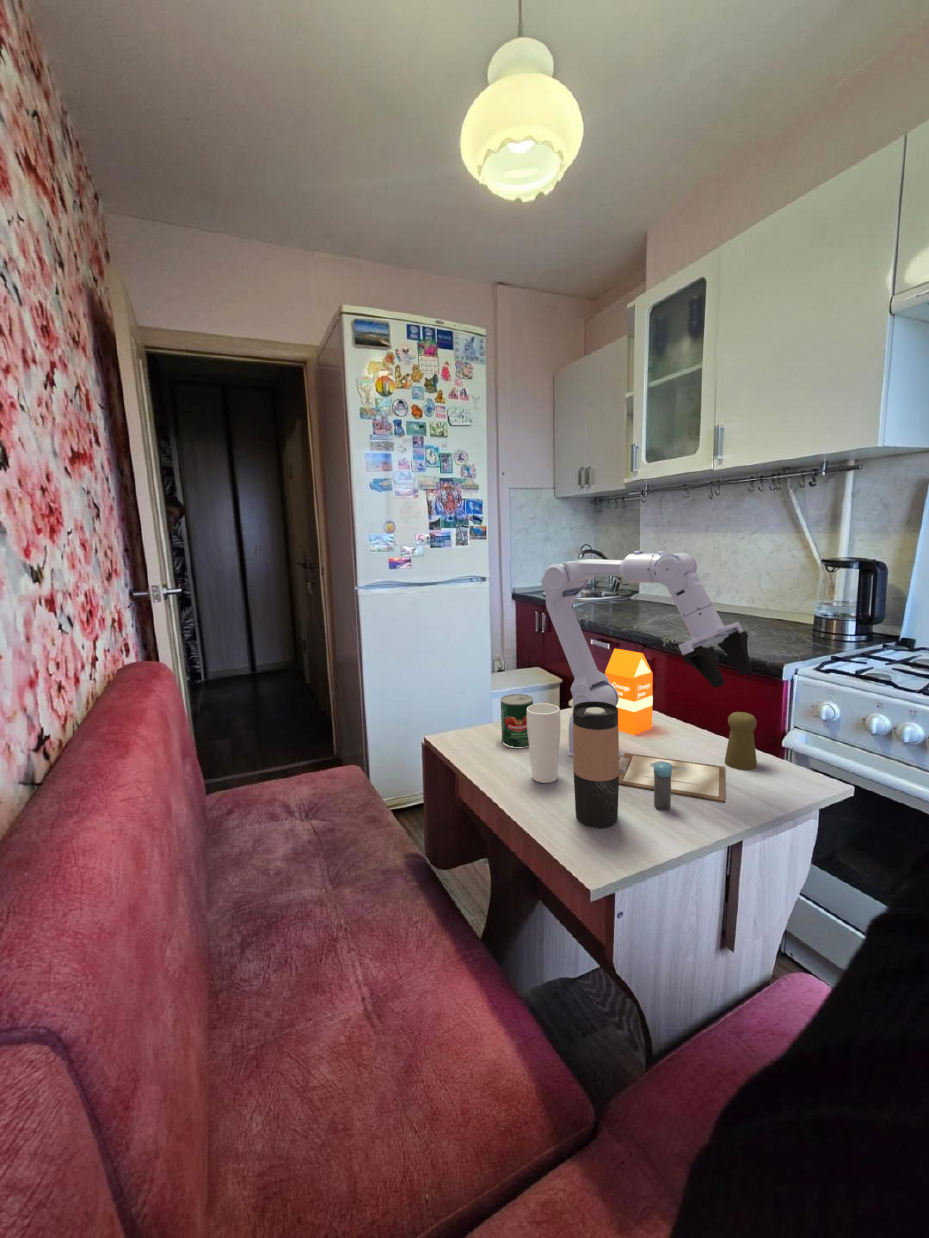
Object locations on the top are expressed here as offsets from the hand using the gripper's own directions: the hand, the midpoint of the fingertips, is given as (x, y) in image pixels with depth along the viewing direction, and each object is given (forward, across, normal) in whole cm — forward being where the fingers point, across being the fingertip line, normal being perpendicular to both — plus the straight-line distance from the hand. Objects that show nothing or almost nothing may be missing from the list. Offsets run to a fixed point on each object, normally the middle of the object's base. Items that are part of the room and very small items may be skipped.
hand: (733, 679), depth 91 cm
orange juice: (+4, +7, +42) cm, 43 cm away
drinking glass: (+5, -27, +30) cm, 41 cm away
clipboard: (+14, -6, +20) cm, 25 cm away
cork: (+18, +10, +17) cm, 27 cm away
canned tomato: (-3, -22, +47) cm, 52 cm away
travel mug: (+13, -29, +15) cm, 35 cm away
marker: (+16, -16, +12) cm, 26 cm away
